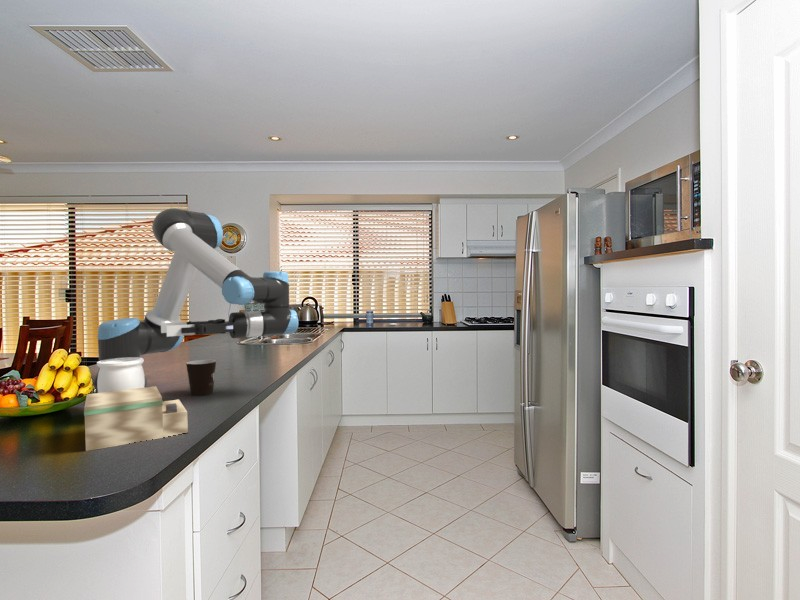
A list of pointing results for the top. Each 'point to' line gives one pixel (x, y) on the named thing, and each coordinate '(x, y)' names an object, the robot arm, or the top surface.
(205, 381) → the coffee mug
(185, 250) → the robot arm
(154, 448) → the top surface
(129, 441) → the step stand
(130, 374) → the jar
